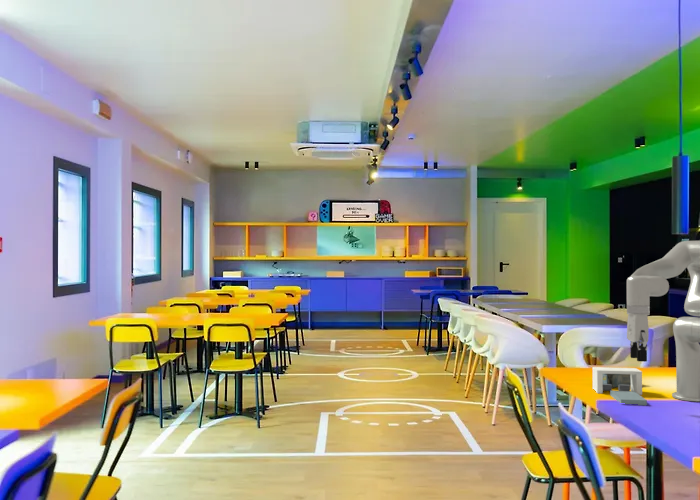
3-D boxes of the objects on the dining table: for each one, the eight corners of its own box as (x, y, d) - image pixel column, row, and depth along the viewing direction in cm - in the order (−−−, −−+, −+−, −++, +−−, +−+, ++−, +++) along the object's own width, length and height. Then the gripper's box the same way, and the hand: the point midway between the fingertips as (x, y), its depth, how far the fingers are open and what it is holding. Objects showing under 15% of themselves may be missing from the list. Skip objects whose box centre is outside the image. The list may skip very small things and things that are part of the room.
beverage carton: (592, 385, 259) (591, 370, 259) (622, 382, 268) (622, 367, 268) (607, 389, 252) (607, 373, 252) (638, 385, 260) (638, 370, 261)
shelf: (635, 390, 248) (635, 368, 248) (642, 394, 240) (641, 371, 241) (592, 389, 251) (592, 367, 251) (597, 393, 243) (597, 370, 243)
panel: (634, 397, 238) (634, 391, 238) (646, 406, 222) (646, 400, 222) (610, 396, 239) (610, 390, 240) (621, 405, 224) (620, 399, 224)
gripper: (620, 308, 227) (620, 355, 227) (634, 312, 210) (635, 363, 210) (641, 308, 226) (641, 356, 226) (657, 312, 209) (657, 363, 209)
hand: (638, 359), depth 218 cm, fingers open, 6 cm apart
